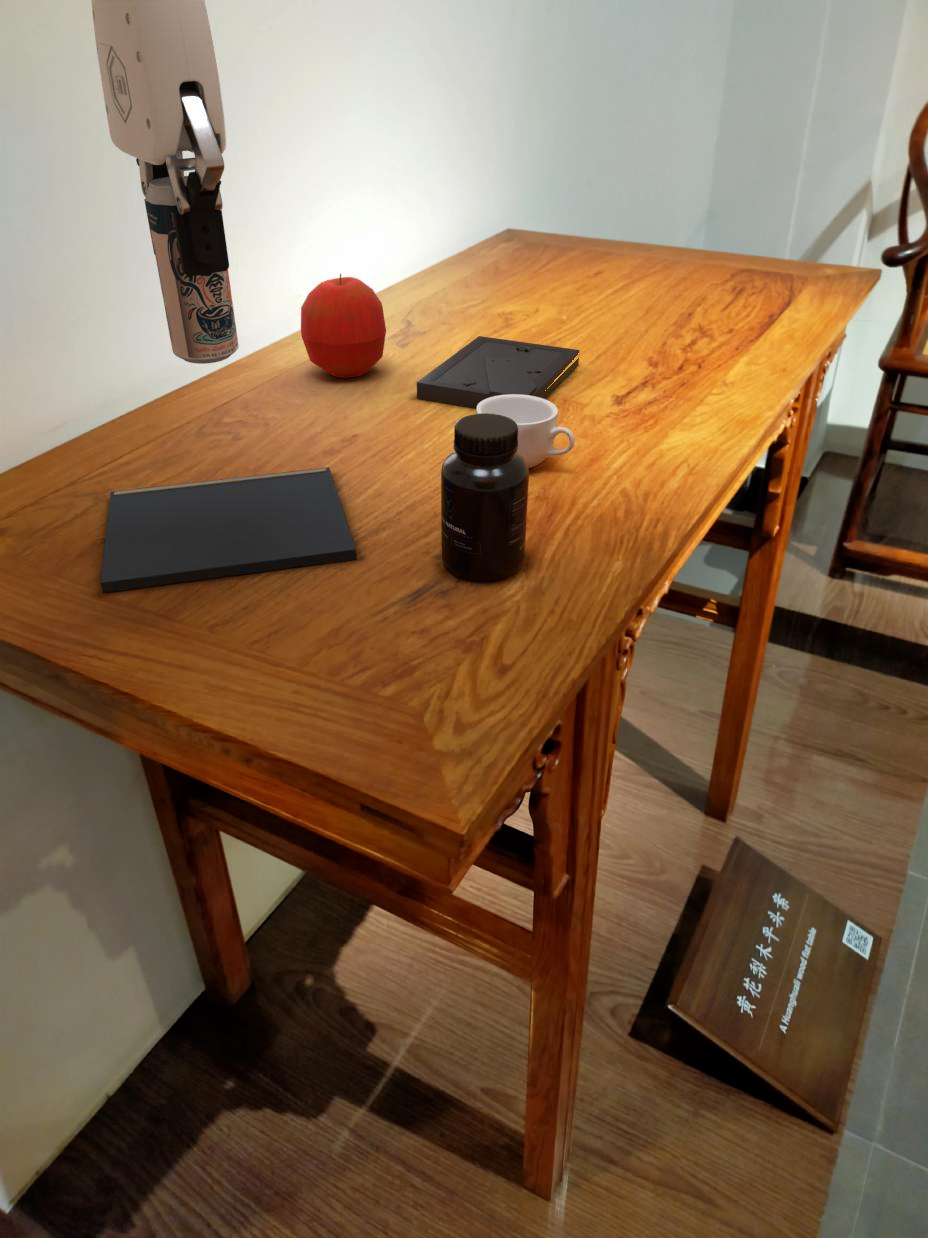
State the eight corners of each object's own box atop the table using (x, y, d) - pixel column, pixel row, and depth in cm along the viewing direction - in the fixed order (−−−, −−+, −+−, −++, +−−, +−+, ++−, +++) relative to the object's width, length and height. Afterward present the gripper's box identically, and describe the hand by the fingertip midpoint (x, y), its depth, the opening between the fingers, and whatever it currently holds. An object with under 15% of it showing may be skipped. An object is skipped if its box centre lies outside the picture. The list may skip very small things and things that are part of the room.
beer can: (202, 371, 67) (172, 190, 61) (160, 357, 70) (127, 182, 63) (252, 353, 71) (230, 179, 64) (211, 340, 73) (184, 172, 66)
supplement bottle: (430, 576, 75) (426, 436, 68) (456, 535, 80) (455, 402, 74) (513, 590, 73) (518, 448, 67) (534, 547, 79) (540, 412, 72)
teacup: (461, 466, 92) (461, 414, 89) (498, 438, 97) (499, 388, 94) (555, 489, 88) (558, 435, 84) (587, 458, 93) (591, 407, 90)
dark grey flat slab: (102, 593, 73) (99, 581, 73) (112, 500, 86) (109, 490, 85) (356, 559, 77) (355, 548, 77) (330, 476, 90) (329, 465, 89)
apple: (342, 351, 119) (335, 257, 113) (406, 367, 115) (402, 269, 108) (287, 375, 112) (276, 276, 106) (352, 392, 108) (345, 289, 101)
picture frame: (526, 417, 102) (578, 364, 115) (527, 397, 100) (579, 346, 114) (416, 398, 106) (478, 350, 120) (416, 379, 105) (478, 332, 118)
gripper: (39, -51, 60) (102, 247, 70) (123, -56, 49) (183, 301, 59) (154, -50, 64) (198, 234, 74) (258, -55, 52) (292, 283, 62)
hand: (191, 261), depth 66 cm, fingers closed on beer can, 4 cm apart
